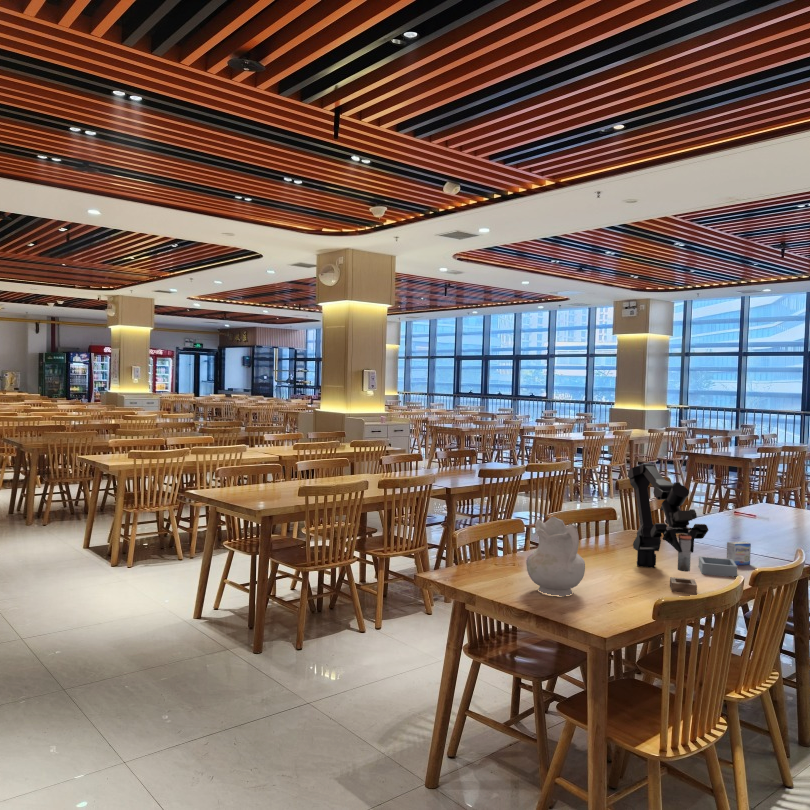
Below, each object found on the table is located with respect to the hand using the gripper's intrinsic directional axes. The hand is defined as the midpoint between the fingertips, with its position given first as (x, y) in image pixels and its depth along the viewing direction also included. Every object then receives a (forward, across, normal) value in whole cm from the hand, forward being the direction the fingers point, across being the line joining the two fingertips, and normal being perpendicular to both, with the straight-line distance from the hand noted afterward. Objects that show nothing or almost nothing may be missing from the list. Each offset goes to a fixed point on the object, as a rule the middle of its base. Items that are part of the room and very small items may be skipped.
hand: (686, 552), depth 240 cm
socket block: (+8, 0, +10) cm, 14 cm away
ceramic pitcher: (+12, -46, +7) cm, 48 cm away
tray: (-9, +25, +28) cm, 38 cm away
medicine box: (-17, +40, +37) cm, 57 cm away
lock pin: (+4, 0, +6) cm, 7 cm away
